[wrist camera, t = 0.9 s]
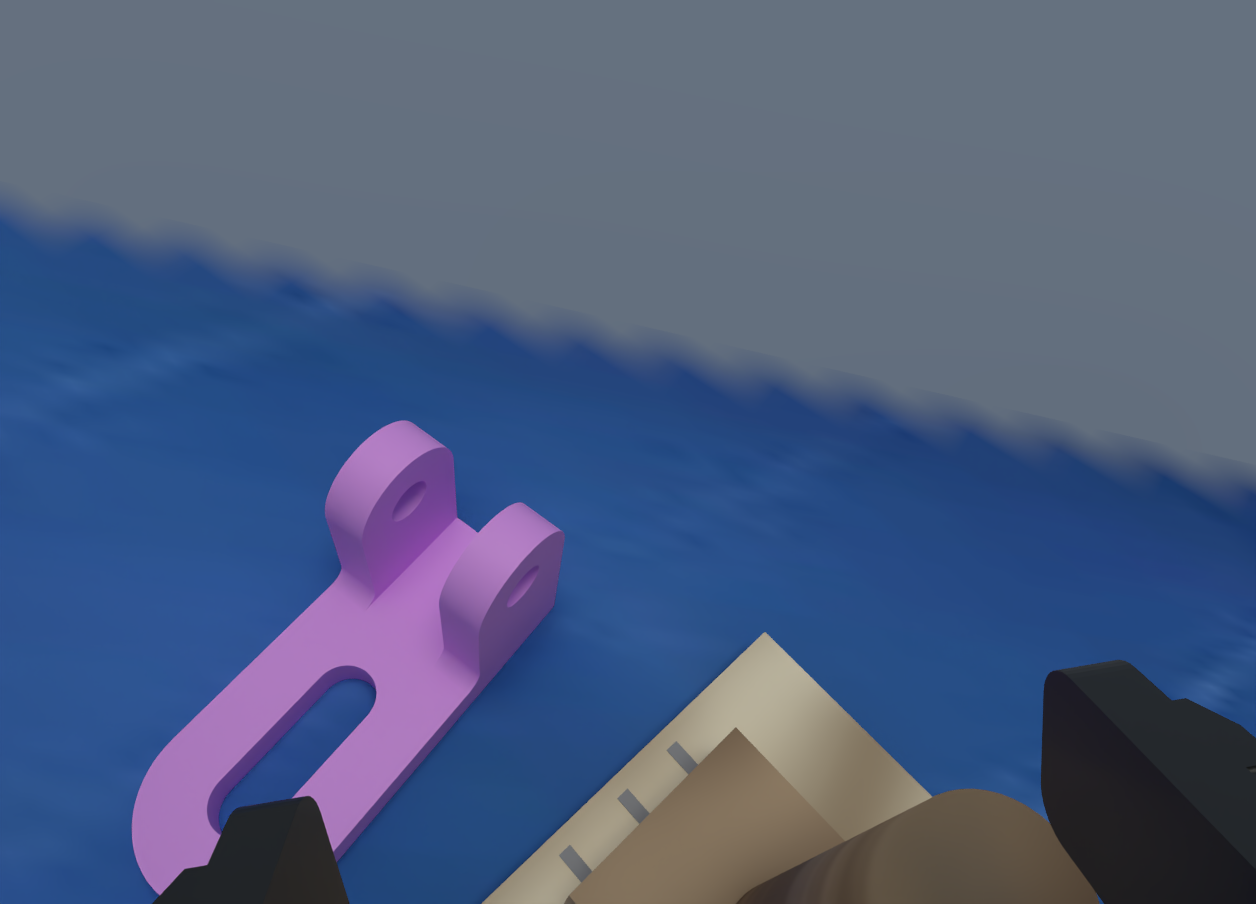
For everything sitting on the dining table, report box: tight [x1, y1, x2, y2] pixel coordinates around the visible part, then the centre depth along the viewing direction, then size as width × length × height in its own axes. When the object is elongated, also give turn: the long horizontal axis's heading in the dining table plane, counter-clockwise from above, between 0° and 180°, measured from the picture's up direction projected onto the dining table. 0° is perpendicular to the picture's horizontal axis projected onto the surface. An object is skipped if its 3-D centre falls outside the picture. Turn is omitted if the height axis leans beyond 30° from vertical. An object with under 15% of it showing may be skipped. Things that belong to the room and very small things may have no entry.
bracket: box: [132, 421, 565, 895], centre depth 25 cm, size 13×6×7 cm, turn 144°
